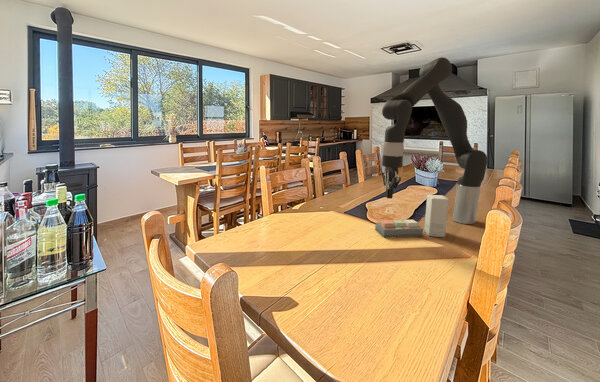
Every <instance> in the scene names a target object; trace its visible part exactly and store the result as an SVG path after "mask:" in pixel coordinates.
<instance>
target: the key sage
mask: <svg viewBox="0 0 600 382" xmlns="http://www.w3.org/2000/svg"><path fill="white" fill-rule="evenodd" d="M391 221H392V222H393V223H394V227H396V228H397V227H406V223H405V222H404V220H402V219H392V220H391Z"/></svg>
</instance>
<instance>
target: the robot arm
mask: <svg viewBox="0 0 600 382" xmlns="http://www.w3.org/2000/svg"><path fill="white" fill-rule="evenodd" d="M452 69H453V68H452V63H451V62H450V60H449V59H448V58H446V57H443V56H442V57H438V58H436V59H434V60H432V61H430V62H428V63H426V64H424V65H422V66H421V67H420V69H419V78H417V79H416V80H415V81H414V82H412V83H411V84H409V85H408V86H407V87H406V88H405V89H404V90H403V91H401V93H399V94H395V95H394V96H393V97H391V98H390V99H388V100H386V102H385V103H384V104H383V106H382V110H381V114H382V116H383V117H384V118H385V119H386V120H392V121H395V120H396V121H395V123H394V125H391V126H387V127H386V128H385V131H384V143H383V149H382V159H381V166H382V167H384V172H381V178H382V182H383V186H384V187H385V189H386V190H385V198H387V199H393V197H394V195H393V193H394V190H395V189H397V188H398V187H399V184H400V183H401V181H402V177H401V176H399V168H402V167H403V163H404V161H403V160H404V159H403V158H404V147H405V145H404V144H405V143H404V142H405V133H406V129H407V126H408V123H409V120H410V118H411V116H412V113H413V107H414V106H416V105H417V104H418V103H419V102H420V101H421V99H423V98H424V97H425V95H426V94H427V95H428V96H429V97H430V100H431V102H432V103H433V106H434V107H435V110H436V112H437V115H438V117H439V119H440V121H441V124H442V127H443V129H444V130H445V132H446V135H447V138H448V139H449V142H450V144H451V147H452V151H453V152H454V157H455V159H456V160H455V161H456V163H457V165H458V166H459V167H460V168H462V169H463V170H464V173H463V175H462V176H460V177H459V178H458V179H457V181H456V182H457V184H456V191H455V199H454V200H455V201H454V205H453V214H452V221H454V222H456V223H460V224H465V225H473V224H475V223H476V221H477V213H478V209H479V200H480V199H479V198H480V193H481V186H482V182H483V181H484V180H485V176H486V170H487V165H488V156H487V154H486V153H485V152H484V150H483V151H482V150H479V149H474V148H473V147H472V146H471V143H470V141H469V139H468V120H467V116H466V114H465V111H464V109H463V107H462V105H461V104H460V103H459V102H457V101H456V100H454V99H453V98H451V97H450V96H449V95H447V93H444V91H443V89H442V88H441V86H440V83H441V82H442V83H443V82H444V81H446V80H447V79H448V78H449V77H450V76H451V73H452Z"/></svg>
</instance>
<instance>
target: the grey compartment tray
mask: <svg viewBox="0 0 600 382" xmlns="http://www.w3.org/2000/svg"><path fill="white" fill-rule="evenodd" d="M380 222H381V221H379V222H377V221H376V222H375V229H374V230H375V231H376V232H377V233H378V234H379V235H380V237H382V238H383V237H384V238H383V239H388V237H389V239H390V237H395V238H418V237H423V233H424V231H423V230H424V228H422V227H421V226H419V225H418V226H417V227H407V226H406V227H397V228H396V227H394V228H383V227H382V226H381V225H380Z"/></svg>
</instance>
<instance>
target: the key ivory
mask: <svg viewBox="0 0 600 382" xmlns="http://www.w3.org/2000/svg"><path fill="white" fill-rule="evenodd" d="M403 221H404V222H405V223H406V226H407V227H417V226H419V225H418V223H419V222H418V221H416V220H414V219H403Z"/></svg>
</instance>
